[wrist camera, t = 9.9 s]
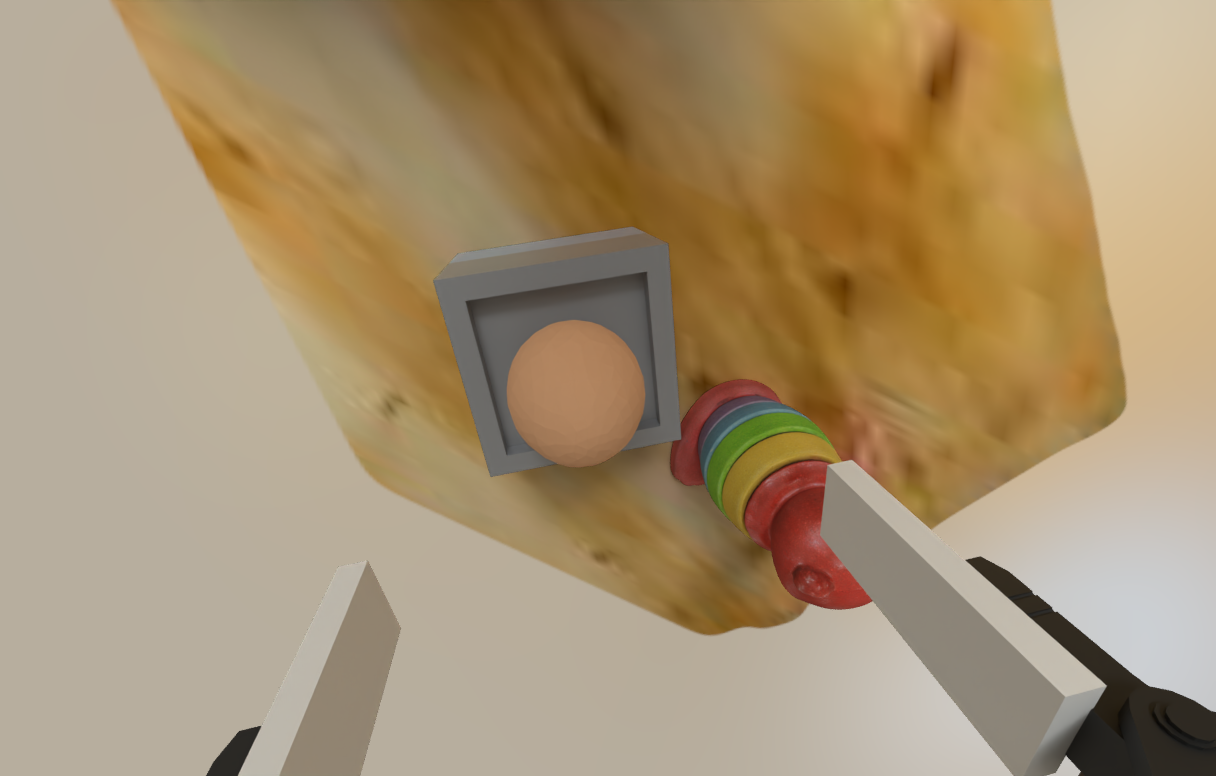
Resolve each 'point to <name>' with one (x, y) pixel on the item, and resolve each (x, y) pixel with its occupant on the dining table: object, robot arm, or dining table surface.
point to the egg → (575, 393)
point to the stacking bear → (768, 484)
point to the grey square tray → (553, 292)
